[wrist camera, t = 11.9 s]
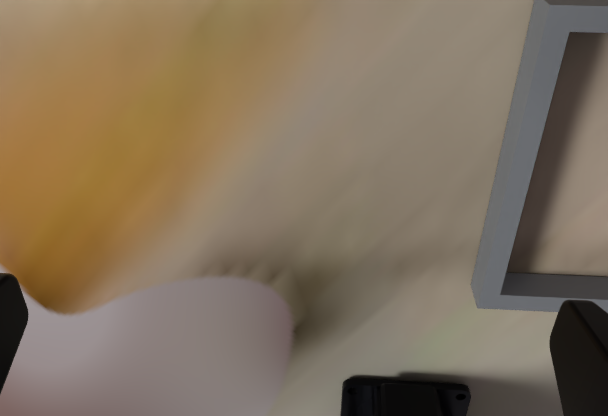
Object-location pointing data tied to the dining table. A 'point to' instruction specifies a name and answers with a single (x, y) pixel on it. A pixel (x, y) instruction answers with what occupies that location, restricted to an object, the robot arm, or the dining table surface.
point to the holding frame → (532, 166)
